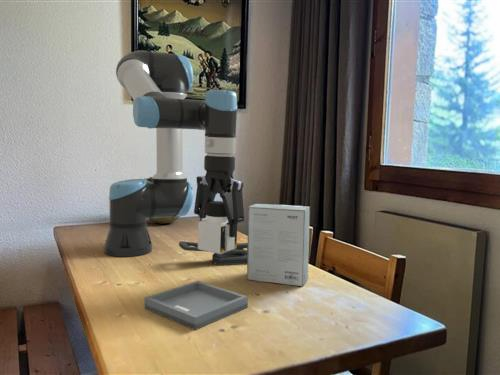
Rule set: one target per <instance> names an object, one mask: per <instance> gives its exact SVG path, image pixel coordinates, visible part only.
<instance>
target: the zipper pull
mask: <svg viewBox="0 0 500 375" xmlns="http://www.w3.org/2000/svg"><path fill="white" fill-rule="evenodd" d="M178 246H179V247H180V248H181V249H182V250H184V251H189V252H190V251H191V252H192V251H193V252H204V251H203V250H199V249H198V242H193V241H192V242H191V241H183V240H180V241H179V243H178ZM247 250H248V242H237V248H236V249H233V250H230V251H228V252H225V253H222V254H217V253H213V254H212V255H211V256H212V258H211V259H212V260H211V261H212V263H213V264H214V265H218V266H237V265H247ZM205 252H208V251H205ZM208 253H209V252H208Z"/></svg>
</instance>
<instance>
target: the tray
mask: <svg viewBox="0 0 500 375" xmlns="http://www.w3.org/2000/svg"><path fill="white" fill-rule="evenodd" d="M248 301H249V296H247V295H245V294H241V293H238V292H236V291H232V290H229V289H225V288H223V287H218V286H215V285H213V284H209V283H206V282H202V281H200V280H196V281H193V282H190V283H186V284H183V285H179V286H177V287H174V288H171V289H167V290H164V291H162V292H159V293H155V294H153V295H152V294H151V295H148V296H146V297H145V296H144V309H145V310H147V311H149V312H152V313H153V314H156V315H158V316H161V317H163V318H166V319H167V320H170V321H173V322H176V323H178V324H180V325H182V326H184V327H188V328H189V329H193V330H195V331H196V330H198V329H201V328H203V327H205V326H208V325H210V324H213V323H214V322H217V321H219V320H221V319H224V318H226V317H228V316H231V315H233V314H236V313H238V312H241V311H242V310H245V309H247V308H248V307H249V302H248Z"/></svg>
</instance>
